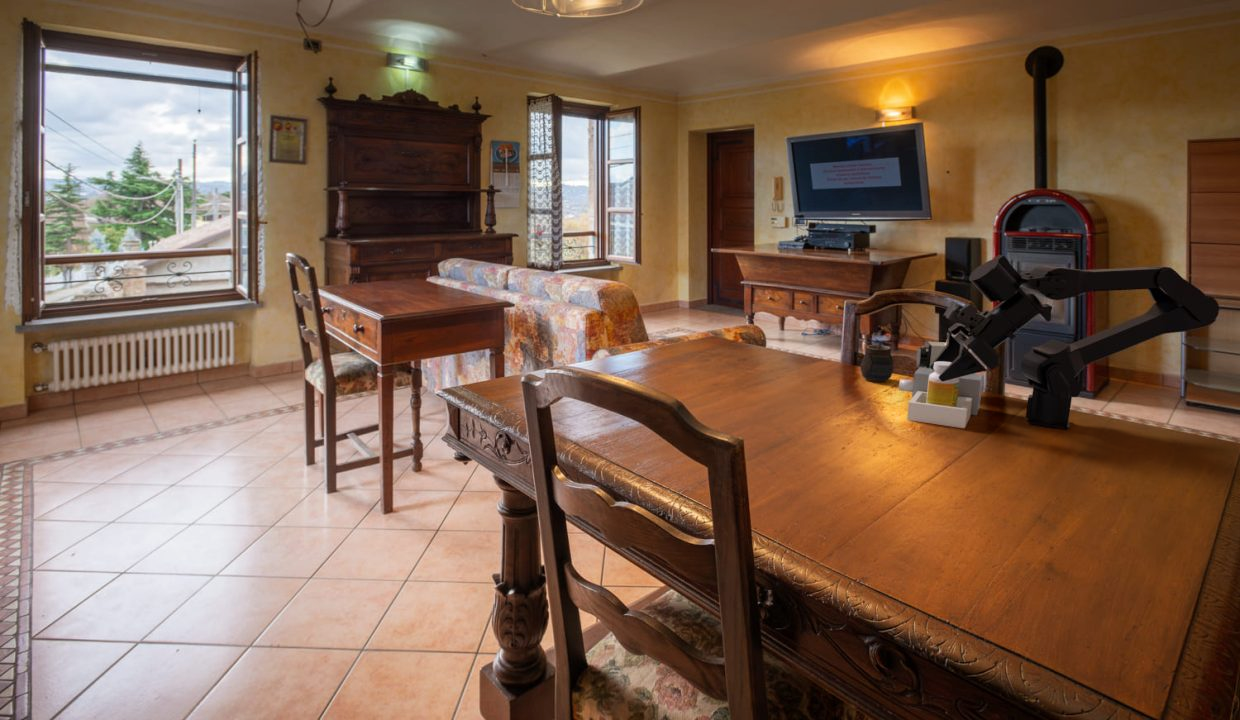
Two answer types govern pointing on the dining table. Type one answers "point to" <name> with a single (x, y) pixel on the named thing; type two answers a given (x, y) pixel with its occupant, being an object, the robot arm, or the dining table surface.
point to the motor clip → (938, 413)
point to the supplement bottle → (942, 387)
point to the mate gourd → (877, 363)
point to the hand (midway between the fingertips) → (935, 374)
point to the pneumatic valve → (929, 353)
